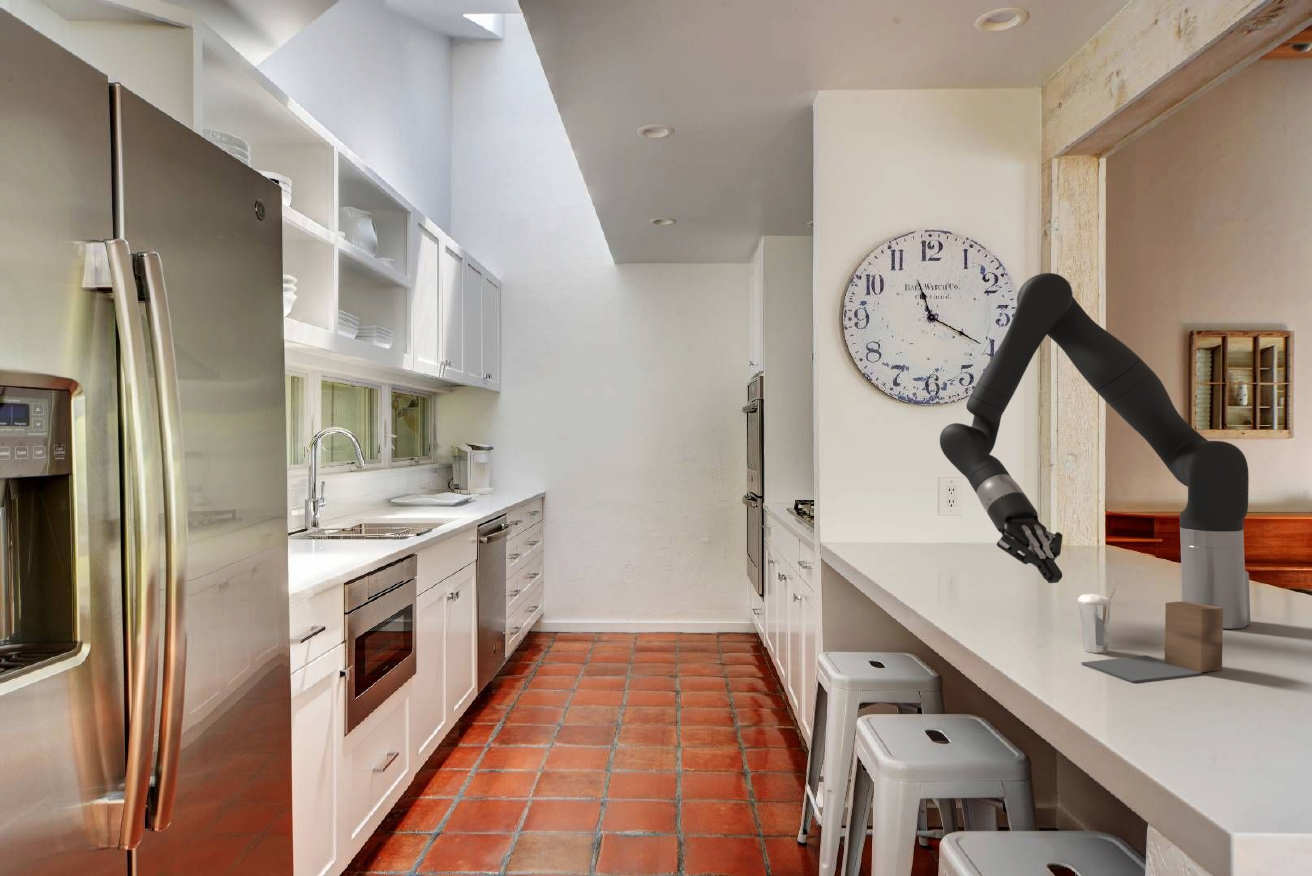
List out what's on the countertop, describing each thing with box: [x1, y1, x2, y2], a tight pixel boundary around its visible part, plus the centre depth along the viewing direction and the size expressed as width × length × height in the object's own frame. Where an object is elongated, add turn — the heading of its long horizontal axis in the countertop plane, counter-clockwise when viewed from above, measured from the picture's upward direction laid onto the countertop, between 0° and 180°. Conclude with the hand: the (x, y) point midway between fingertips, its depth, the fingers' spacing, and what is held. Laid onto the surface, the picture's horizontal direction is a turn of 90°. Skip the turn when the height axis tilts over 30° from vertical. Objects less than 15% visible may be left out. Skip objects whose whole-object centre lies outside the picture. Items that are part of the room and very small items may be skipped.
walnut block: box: [1164, 601, 1224, 673], centre depth 107 cm, size 5×5×9 cm
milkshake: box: [1077, 588, 1116, 654], centre depth 117 cm, size 4×5×10 cm
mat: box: [1081, 655, 1203, 684], centre depth 107 cm, size 12×9×1 cm
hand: (1056, 580), depth 125 cm, fingers closed
